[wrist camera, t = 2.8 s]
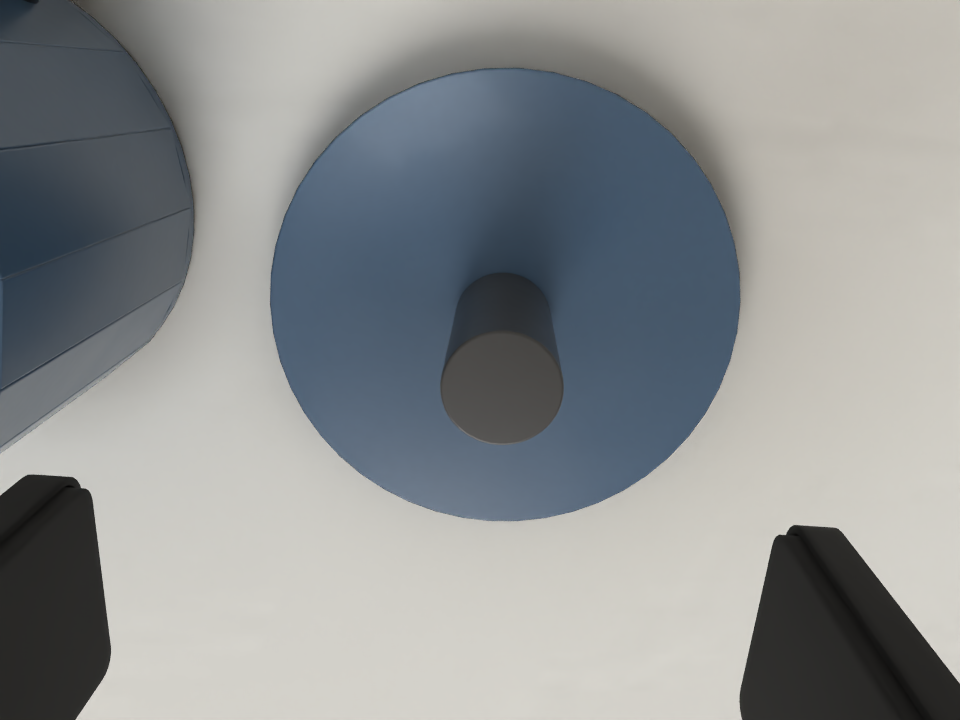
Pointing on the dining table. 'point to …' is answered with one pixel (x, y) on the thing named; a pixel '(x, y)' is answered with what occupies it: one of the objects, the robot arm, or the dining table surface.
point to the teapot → (80, 210)
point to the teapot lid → (505, 294)
